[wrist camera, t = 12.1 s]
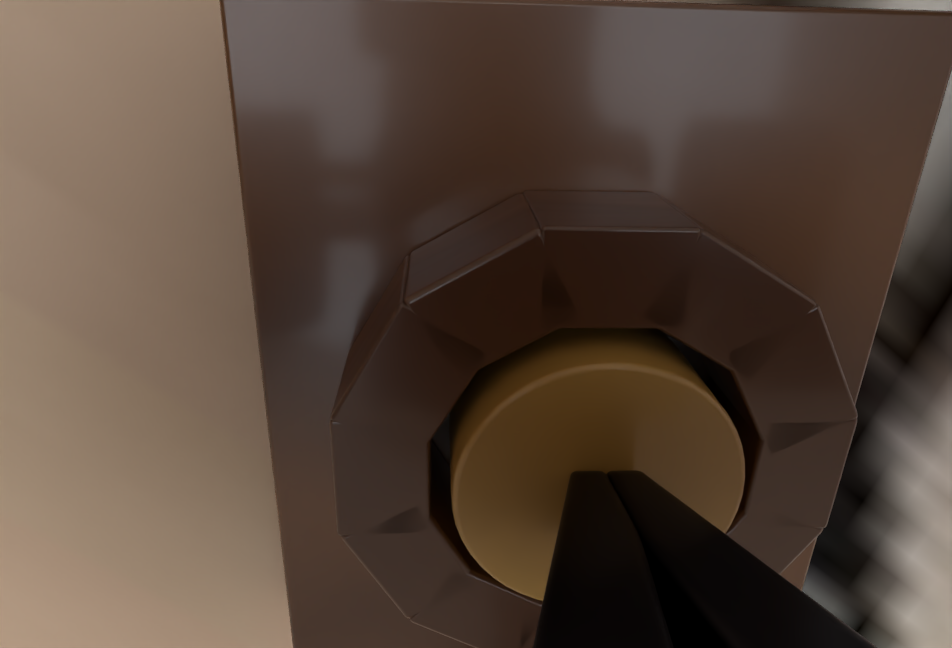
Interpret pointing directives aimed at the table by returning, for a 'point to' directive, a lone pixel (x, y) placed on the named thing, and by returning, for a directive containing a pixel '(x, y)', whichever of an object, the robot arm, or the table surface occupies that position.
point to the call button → (582, 441)
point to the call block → (556, 253)
